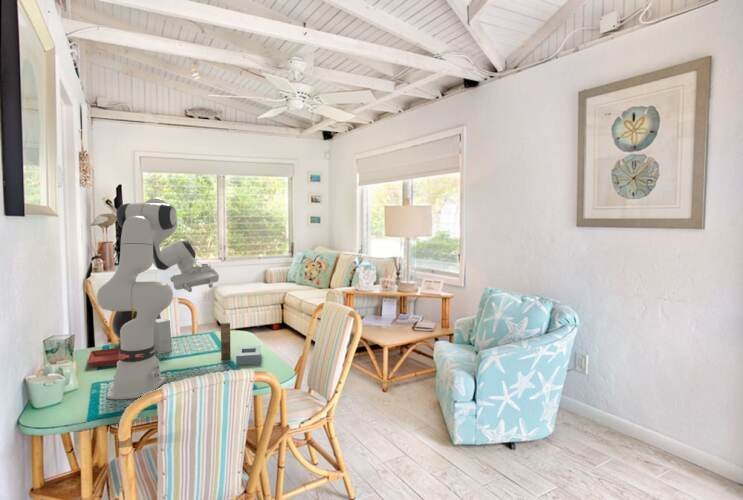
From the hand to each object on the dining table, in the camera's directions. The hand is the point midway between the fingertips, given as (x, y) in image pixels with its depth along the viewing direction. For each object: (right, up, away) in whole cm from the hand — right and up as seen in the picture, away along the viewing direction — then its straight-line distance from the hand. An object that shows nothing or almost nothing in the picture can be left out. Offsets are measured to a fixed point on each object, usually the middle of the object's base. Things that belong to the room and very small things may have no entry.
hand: (200, 288), depth 209 cm
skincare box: (-20, -30, +4) cm, 36 cm away
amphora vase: (-37, -29, +14) cm, 49 cm away
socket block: (+24, -31, -7) cm, 40 cm away
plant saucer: (-35, -31, -10) cm, 48 cm away
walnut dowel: (+14, -31, -6) cm, 34 cm away
